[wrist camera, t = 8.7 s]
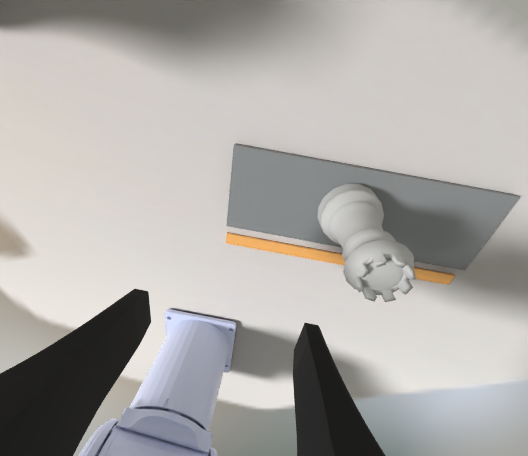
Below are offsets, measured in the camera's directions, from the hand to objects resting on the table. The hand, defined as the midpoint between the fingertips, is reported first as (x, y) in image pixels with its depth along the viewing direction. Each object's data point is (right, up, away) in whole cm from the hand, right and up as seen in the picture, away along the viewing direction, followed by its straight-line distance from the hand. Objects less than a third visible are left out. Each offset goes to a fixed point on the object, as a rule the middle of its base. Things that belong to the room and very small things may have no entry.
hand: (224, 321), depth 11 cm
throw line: (+8, +2, +10) cm, 13 cm away
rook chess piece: (+8, +6, +7) cm, 12 cm away
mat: (+9, +6, +7) cm, 13 cm away
